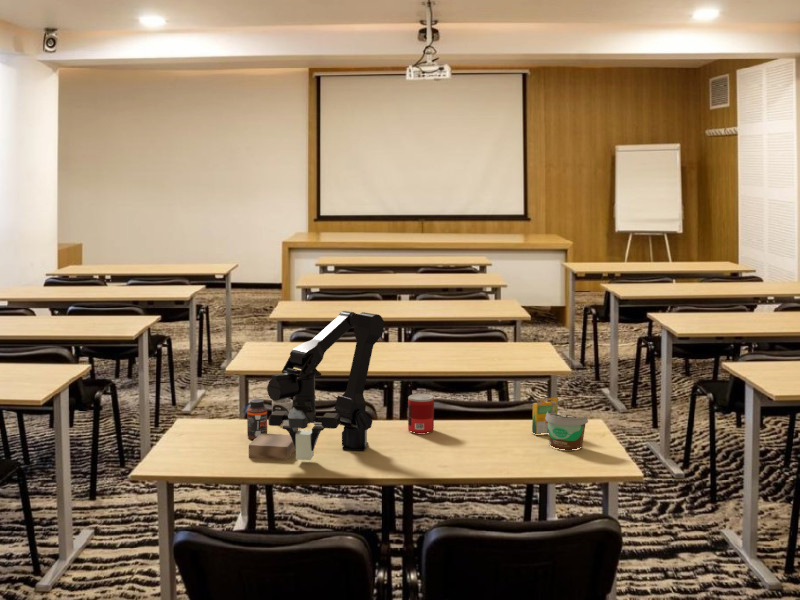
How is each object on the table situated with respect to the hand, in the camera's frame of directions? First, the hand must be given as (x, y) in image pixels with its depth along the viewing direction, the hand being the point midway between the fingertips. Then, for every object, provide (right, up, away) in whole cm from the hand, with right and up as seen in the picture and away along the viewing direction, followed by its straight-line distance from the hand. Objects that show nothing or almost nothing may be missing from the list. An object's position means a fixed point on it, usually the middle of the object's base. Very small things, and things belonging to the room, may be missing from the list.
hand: (304, 450), depth 213 cm
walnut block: (-10, -3, +9) cm, 14 cm away
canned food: (+32, 0, +30) cm, 44 cm away
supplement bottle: (-17, -1, +23) cm, 29 cm away
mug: (-10, +1, +40) cm, 41 cm away
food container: (+74, -3, +14) cm, 75 cm away
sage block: (0, -2, 0) cm, 2 cm away
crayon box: (+70, -1, +28) cm, 76 cm away
